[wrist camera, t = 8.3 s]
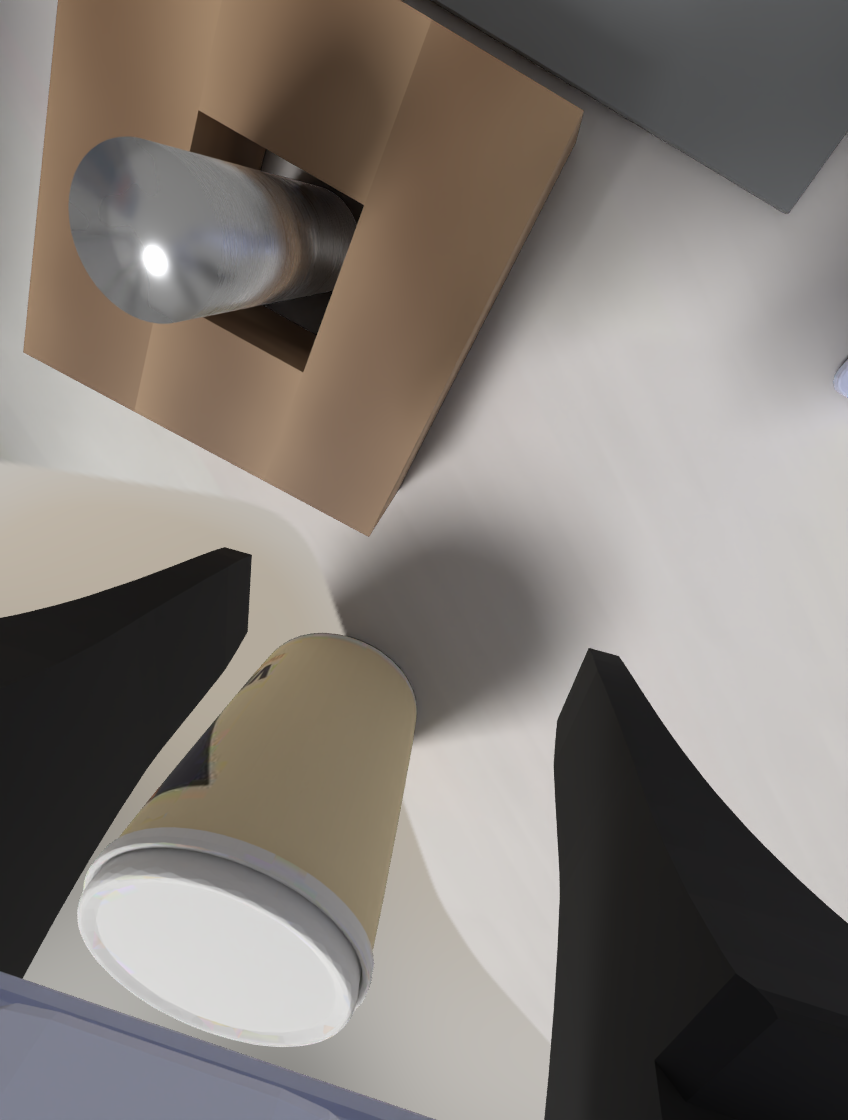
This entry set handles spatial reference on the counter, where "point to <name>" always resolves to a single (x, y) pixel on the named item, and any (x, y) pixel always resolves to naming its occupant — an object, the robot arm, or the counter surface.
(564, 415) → the counter surface
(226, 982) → the coffee cup
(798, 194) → the mat
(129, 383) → the hole block
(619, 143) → the counter surface
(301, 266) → the peg
